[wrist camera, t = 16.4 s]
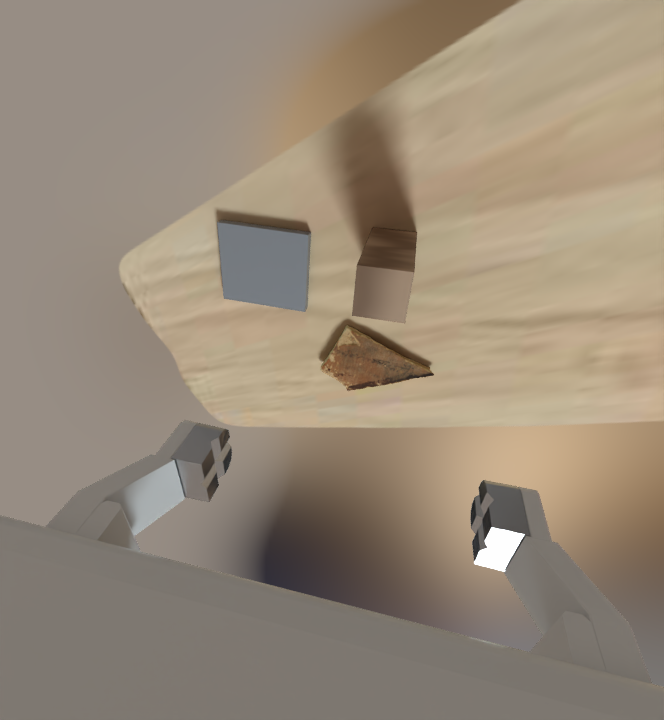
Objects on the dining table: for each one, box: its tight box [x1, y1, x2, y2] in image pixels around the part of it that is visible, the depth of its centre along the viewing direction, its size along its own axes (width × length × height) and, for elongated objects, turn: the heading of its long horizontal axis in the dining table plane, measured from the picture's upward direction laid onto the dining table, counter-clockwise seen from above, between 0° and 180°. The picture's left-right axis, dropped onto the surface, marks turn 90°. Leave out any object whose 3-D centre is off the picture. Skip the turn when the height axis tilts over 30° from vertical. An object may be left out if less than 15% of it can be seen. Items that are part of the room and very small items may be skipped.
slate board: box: [217, 220, 311, 312], centre depth 40 cm, size 2×8×9 cm
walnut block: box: [352, 227, 417, 323], centre depth 32 cm, size 4×4×10 cm
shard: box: [321, 325, 434, 390], centre depth 44 cm, size 11×8×2 cm
